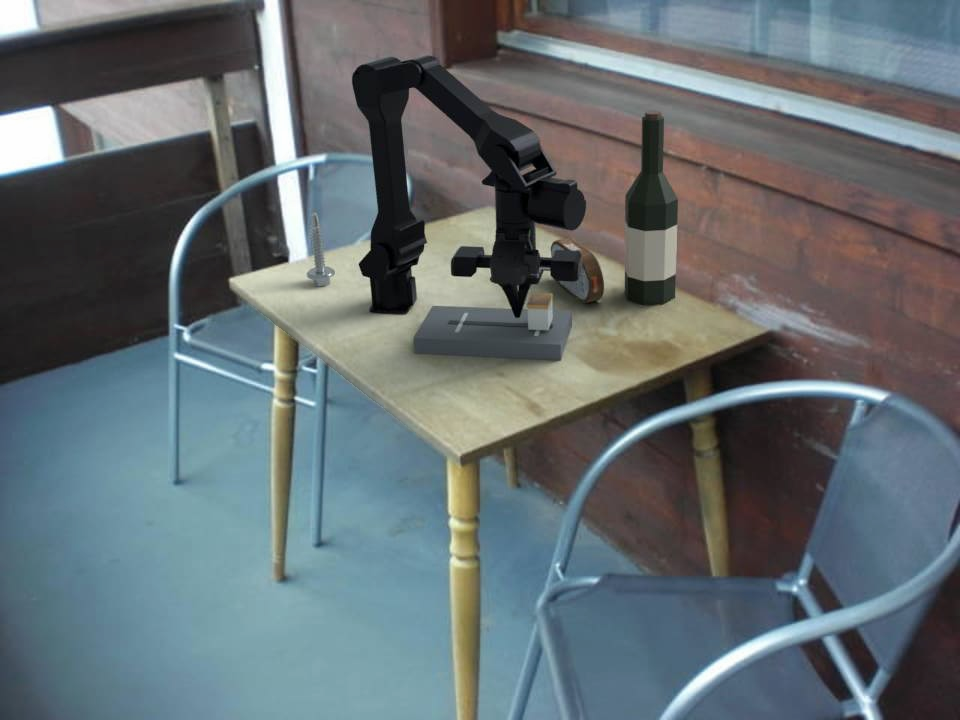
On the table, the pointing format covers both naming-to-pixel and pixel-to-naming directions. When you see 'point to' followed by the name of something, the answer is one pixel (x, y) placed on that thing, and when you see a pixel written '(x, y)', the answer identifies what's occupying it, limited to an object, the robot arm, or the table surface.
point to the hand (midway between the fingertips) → (518, 316)
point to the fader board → (490, 333)
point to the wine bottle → (651, 223)
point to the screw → (318, 256)
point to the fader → (540, 311)
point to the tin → (582, 272)
